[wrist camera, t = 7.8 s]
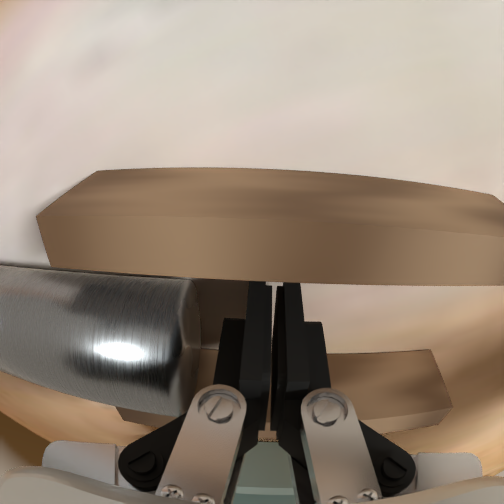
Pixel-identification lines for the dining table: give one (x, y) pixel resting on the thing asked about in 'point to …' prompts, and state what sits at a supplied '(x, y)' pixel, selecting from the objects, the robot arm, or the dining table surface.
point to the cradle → (265, 476)
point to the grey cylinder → (102, 336)
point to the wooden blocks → (290, 254)
